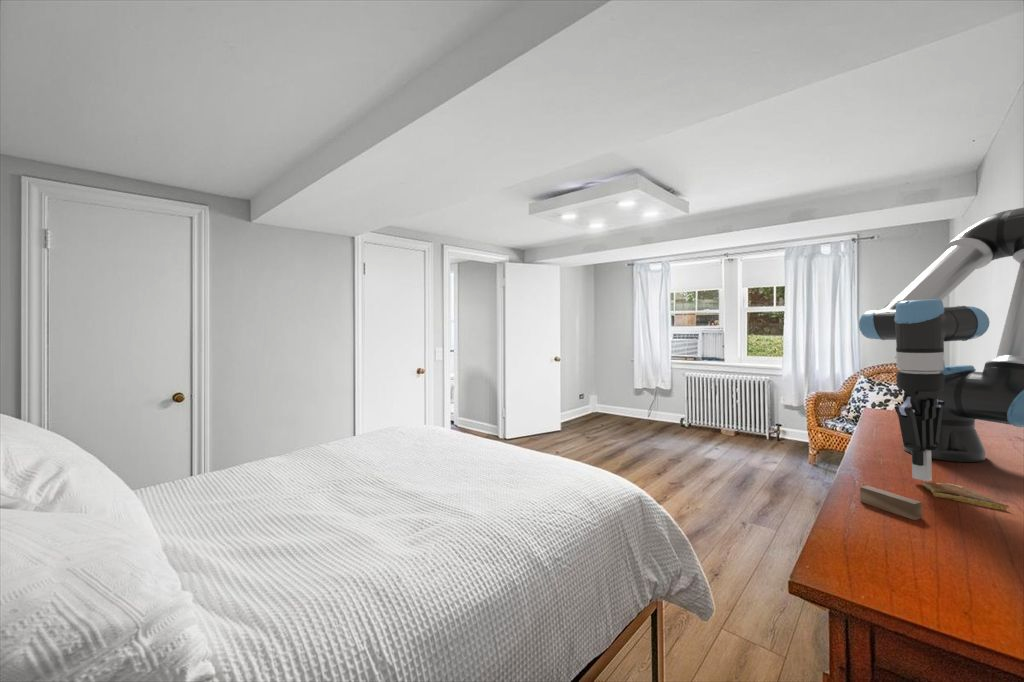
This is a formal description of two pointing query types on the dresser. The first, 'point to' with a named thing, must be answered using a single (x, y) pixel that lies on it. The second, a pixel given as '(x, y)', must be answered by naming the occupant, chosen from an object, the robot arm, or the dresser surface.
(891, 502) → the walnut rail
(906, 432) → the robot arm
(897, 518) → the dresser surface
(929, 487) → the shard
